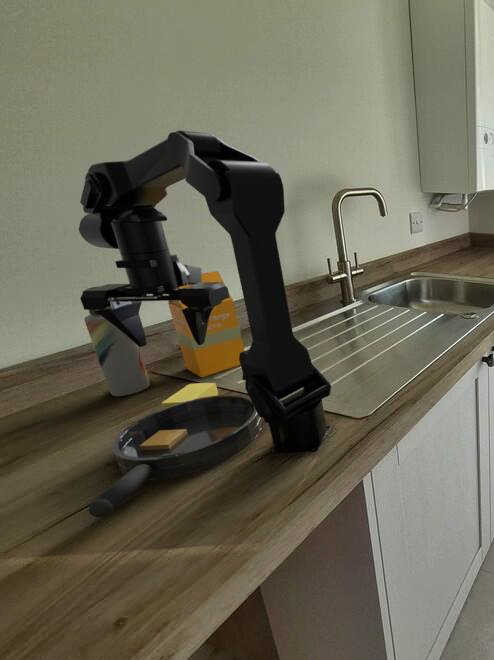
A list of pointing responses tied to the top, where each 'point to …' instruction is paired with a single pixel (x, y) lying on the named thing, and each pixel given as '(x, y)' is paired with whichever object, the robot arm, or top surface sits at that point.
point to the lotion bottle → (117, 356)
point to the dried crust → (163, 439)
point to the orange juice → (210, 335)
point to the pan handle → (120, 491)
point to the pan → (190, 435)
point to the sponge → (191, 393)
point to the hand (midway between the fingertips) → (172, 345)
